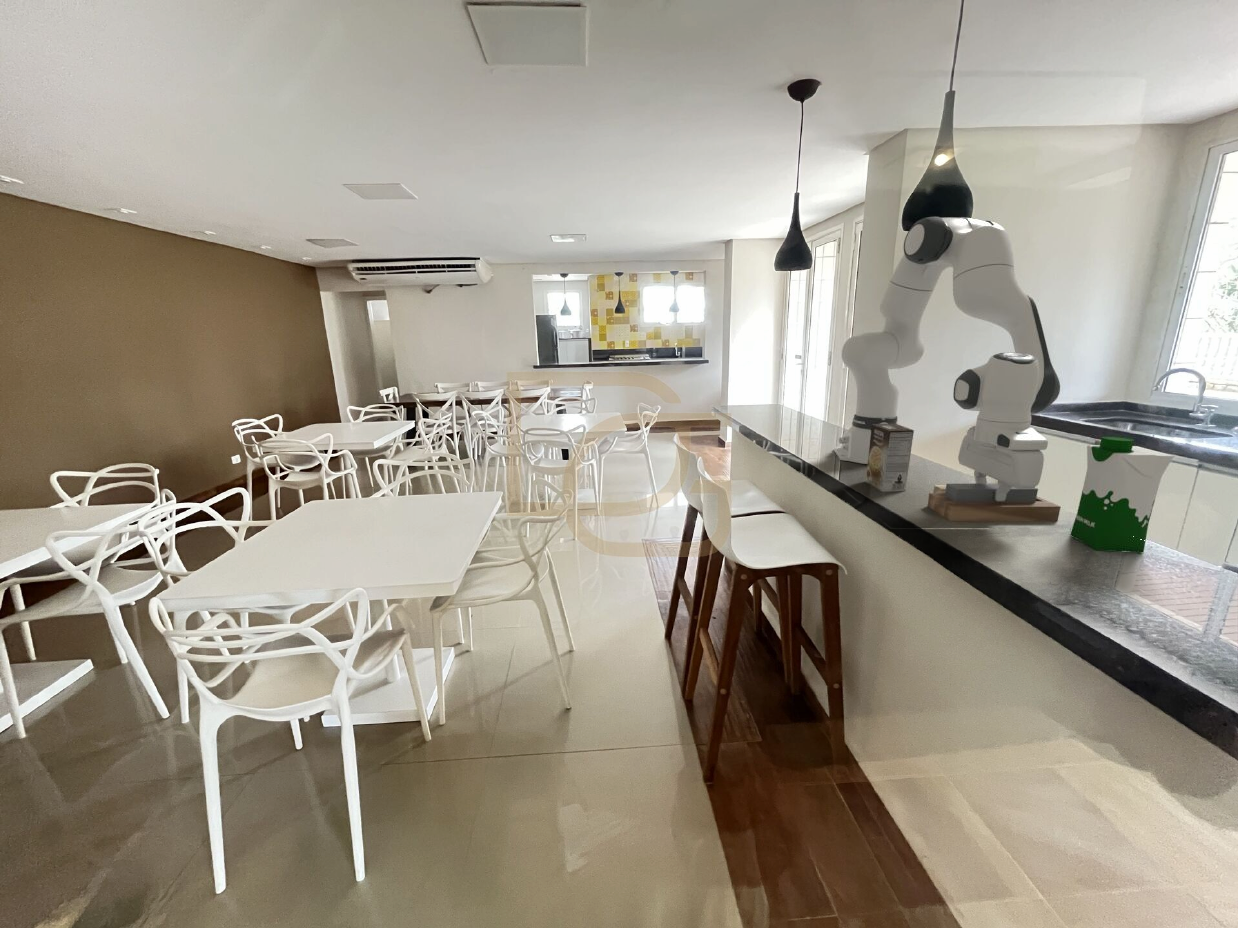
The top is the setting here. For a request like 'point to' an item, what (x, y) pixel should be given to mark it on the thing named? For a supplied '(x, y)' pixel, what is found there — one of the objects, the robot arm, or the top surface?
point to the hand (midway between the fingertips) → (989, 495)
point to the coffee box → (889, 457)
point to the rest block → (939, 488)
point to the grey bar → (987, 493)
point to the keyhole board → (994, 510)
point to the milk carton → (1118, 494)
